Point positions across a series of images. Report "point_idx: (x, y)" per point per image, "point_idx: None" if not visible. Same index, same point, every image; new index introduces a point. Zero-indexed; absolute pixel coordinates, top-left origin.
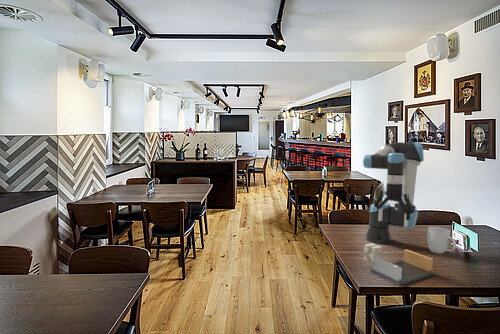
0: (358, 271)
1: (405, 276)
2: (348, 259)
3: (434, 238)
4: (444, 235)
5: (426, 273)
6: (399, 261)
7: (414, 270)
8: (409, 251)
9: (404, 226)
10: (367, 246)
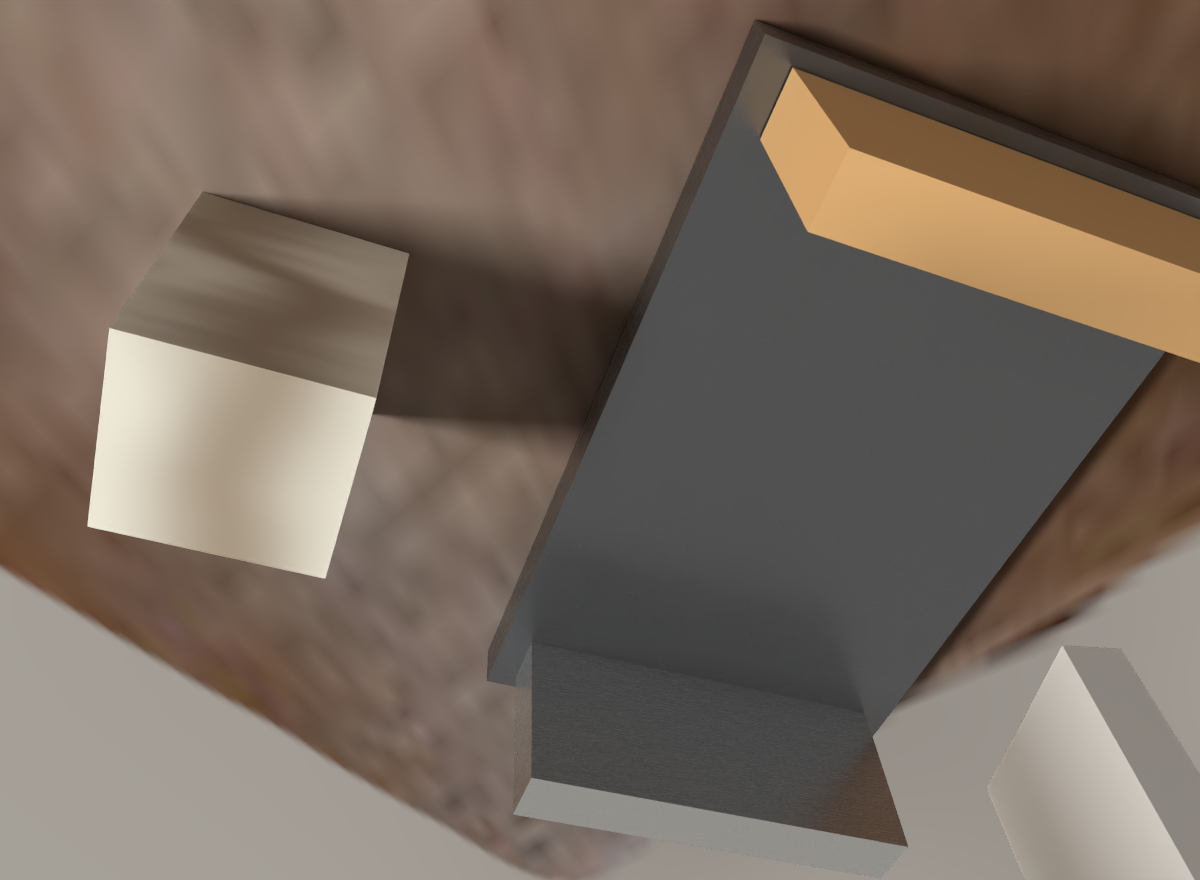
0: (380, 712)
1: (888, 613)
2: (40, 515)
3: None
4: None
5: (1132, 372)
6: (700, 191)
7: (971, 382)
8: (923, 247)
9: (1011, 796)
10: (170, 537)
